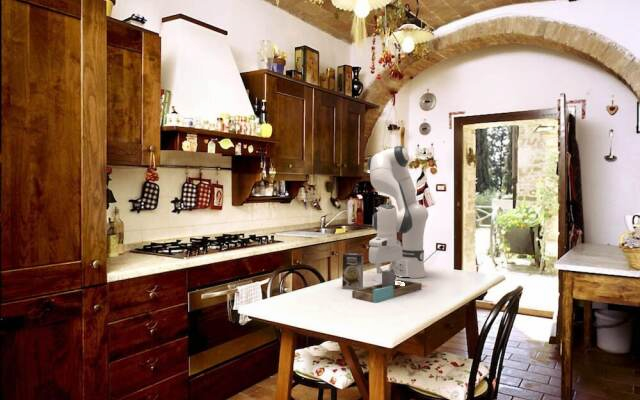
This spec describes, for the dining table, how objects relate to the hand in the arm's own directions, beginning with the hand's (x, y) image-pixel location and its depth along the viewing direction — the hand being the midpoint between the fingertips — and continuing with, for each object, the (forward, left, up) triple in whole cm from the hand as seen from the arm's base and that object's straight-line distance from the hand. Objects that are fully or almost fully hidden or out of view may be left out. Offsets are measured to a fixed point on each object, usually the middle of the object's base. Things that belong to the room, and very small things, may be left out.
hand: (385, 271), depth 204 cm
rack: (+1, +1, -10) cm, 10 cm away
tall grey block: (+1, +1, -10) cm, 10 cm away
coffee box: (-18, -1, -10) cm, 21 cm away
